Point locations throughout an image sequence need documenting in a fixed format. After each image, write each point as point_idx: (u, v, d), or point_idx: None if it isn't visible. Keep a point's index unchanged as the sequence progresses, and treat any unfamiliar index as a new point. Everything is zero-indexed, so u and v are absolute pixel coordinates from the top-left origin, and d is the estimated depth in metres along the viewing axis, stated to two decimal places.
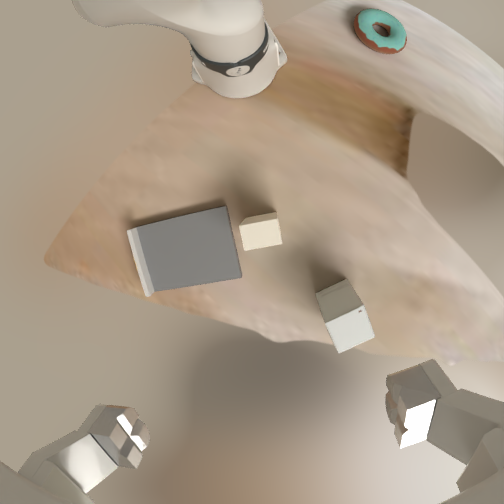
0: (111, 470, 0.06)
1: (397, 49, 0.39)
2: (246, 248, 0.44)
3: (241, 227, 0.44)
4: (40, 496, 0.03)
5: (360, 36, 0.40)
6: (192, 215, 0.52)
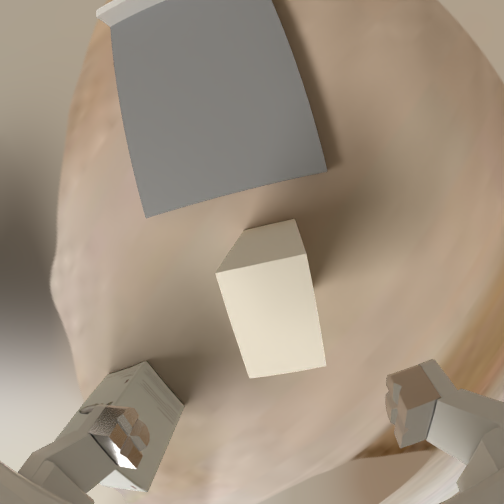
0: (111, 470, 0.06)
1: None
2: (224, 280, 0.12)
3: (301, 262, 0.12)
4: (40, 496, 0.03)
5: None
6: (298, 86, 0.17)
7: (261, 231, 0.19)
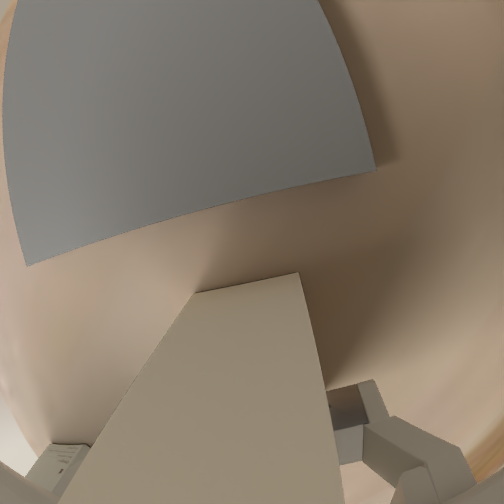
0: None
1: None
2: None
3: None
4: (40, 496, 0.03)
5: None
6: None
7: (220, 314, 0.08)
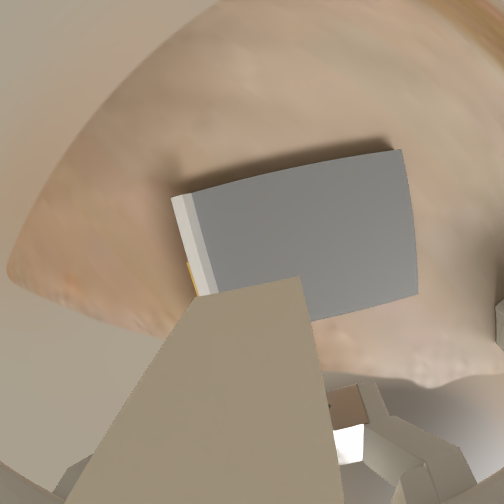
0: None
1: None
2: None
3: None
4: (40, 496, 0.03)
5: None
6: (334, 163, 0.22)
7: (222, 319, 0.08)
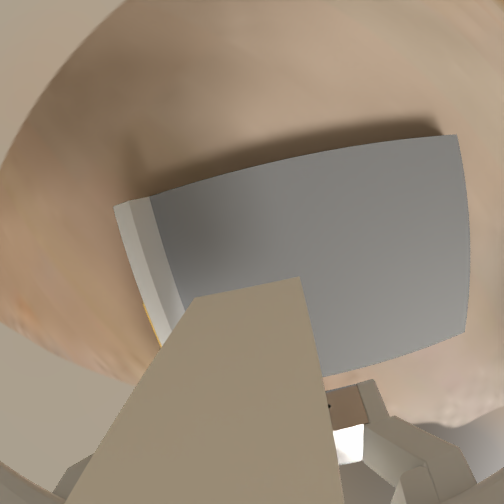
0: None
1: None
2: None
3: None
4: (40, 496, 0.03)
5: None
6: (369, 150, 0.14)
7: (222, 319, 0.08)
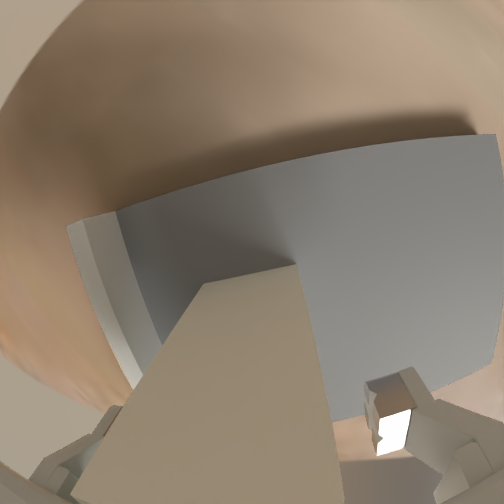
0: None
1: None
2: None
3: None
4: (40, 496, 0.03)
5: None
6: (398, 149, 0.10)
7: (229, 299, 0.09)
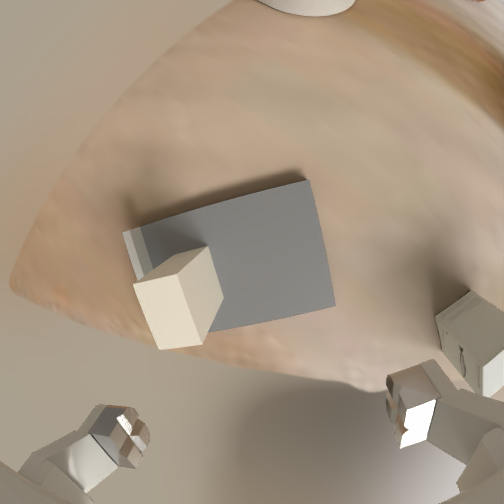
0: (111, 470, 0.06)
1: None
2: (137, 288, 0.21)
3: (174, 278, 0.20)
4: (40, 496, 0.03)
5: None
6: (247, 198, 0.28)
7: (180, 256, 0.28)
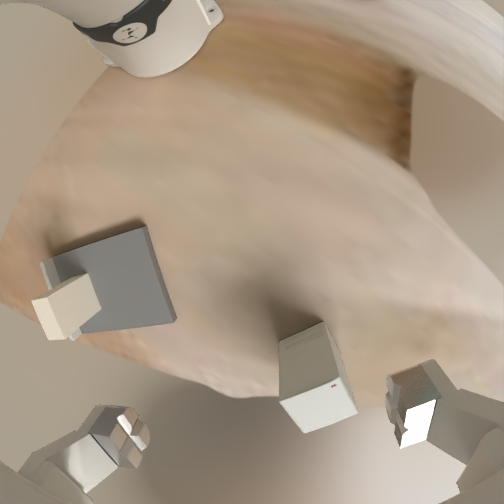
0: (111, 470, 0.06)
1: None
2: (33, 303, 0.28)
3: (46, 299, 0.28)
4: (40, 496, 0.03)
5: None
6: (105, 241, 0.36)
7: (69, 280, 0.36)
